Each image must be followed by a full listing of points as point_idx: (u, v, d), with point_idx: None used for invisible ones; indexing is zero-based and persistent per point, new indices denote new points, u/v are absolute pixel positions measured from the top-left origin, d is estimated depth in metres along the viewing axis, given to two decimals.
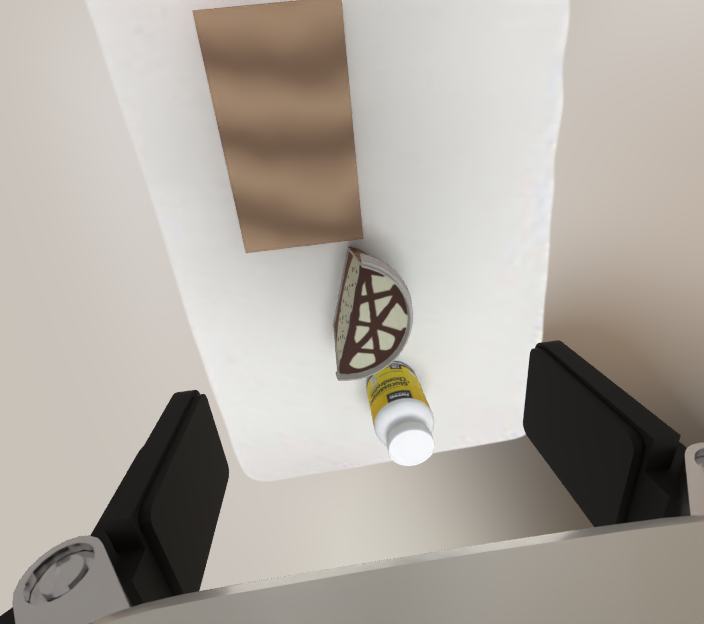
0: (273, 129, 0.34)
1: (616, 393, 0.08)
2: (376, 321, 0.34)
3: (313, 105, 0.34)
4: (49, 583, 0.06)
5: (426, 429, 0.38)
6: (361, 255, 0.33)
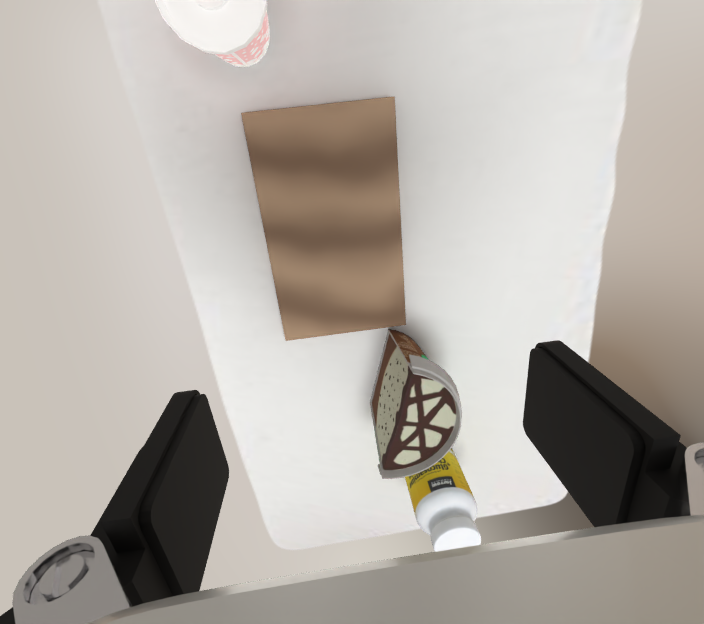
0: (319, 224, 0.33)
1: (616, 393, 0.08)
2: (423, 420, 0.33)
3: (361, 200, 0.33)
4: (49, 583, 0.06)
5: (473, 525, 0.36)
6: (410, 357, 0.32)
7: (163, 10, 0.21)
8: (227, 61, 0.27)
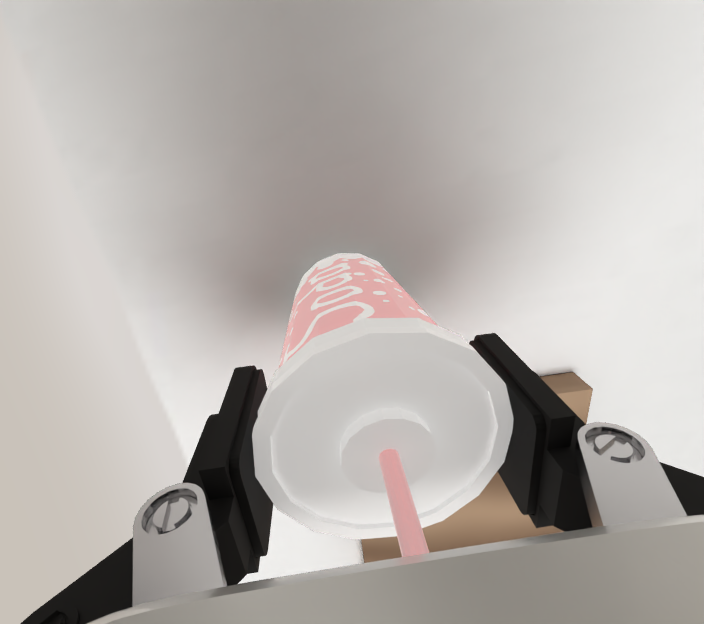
0: (446, 538, 0.22)
1: (531, 379, 0.09)
2: None
3: (514, 509, 0.21)
4: (161, 520, 0.07)
5: None
6: None
7: (278, 496, 0.09)
8: None
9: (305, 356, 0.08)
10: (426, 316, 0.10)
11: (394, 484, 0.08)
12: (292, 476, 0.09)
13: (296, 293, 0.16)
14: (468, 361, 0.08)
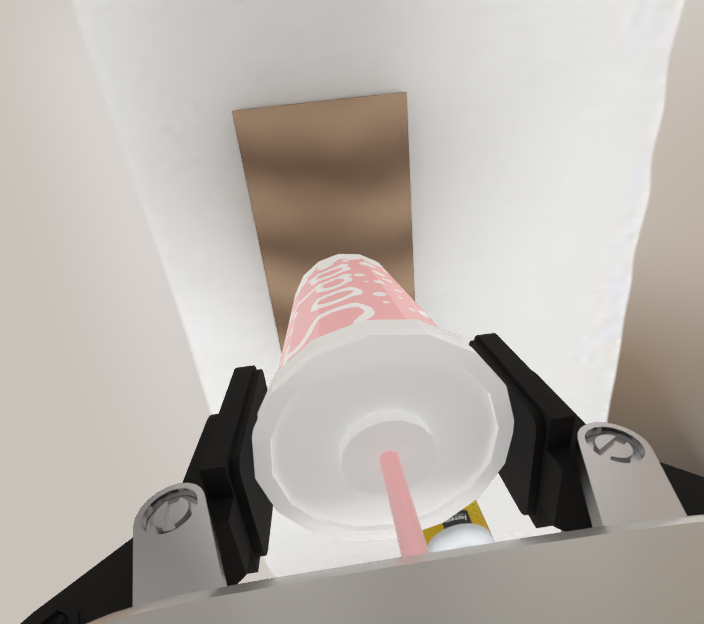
0: (320, 235, 0.30)
1: (531, 379, 0.09)
2: None
3: (368, 209, 0.29)
4: (161, 519, 0.07)
5: None
6: None
7: (278, 498, 0.09)
8: None
9: (305, 358, 0.08)
10: (426, 317, 0.10)
11: (394, 486, 0.08)
12: (293, 477, 0.09)
13: (296, 294, 0.16)
14: (468, 363, 0.08)
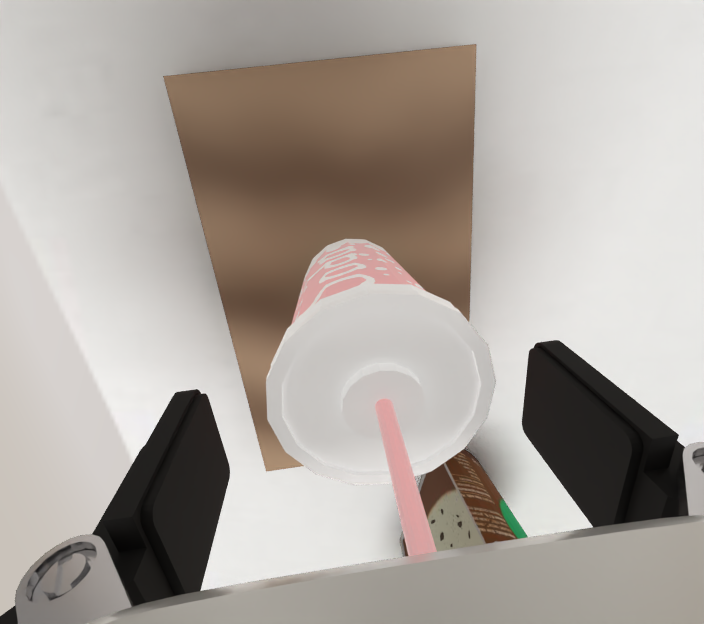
0: None
1: (615, 393, 0.08)
2: None
3: (401, 245, 0.18)
4: (51, 581, 0.06)
5: None
6: None
7: (287, 439, 0.10)
8: None
9: (313, 313, 0.09)
10: (422, 289, 0.11)
11: (387, 424, 0.09)
12: (299, 422, 0.10)
13: (306, 274, 0.17)
14: (454, 322, 0.09)
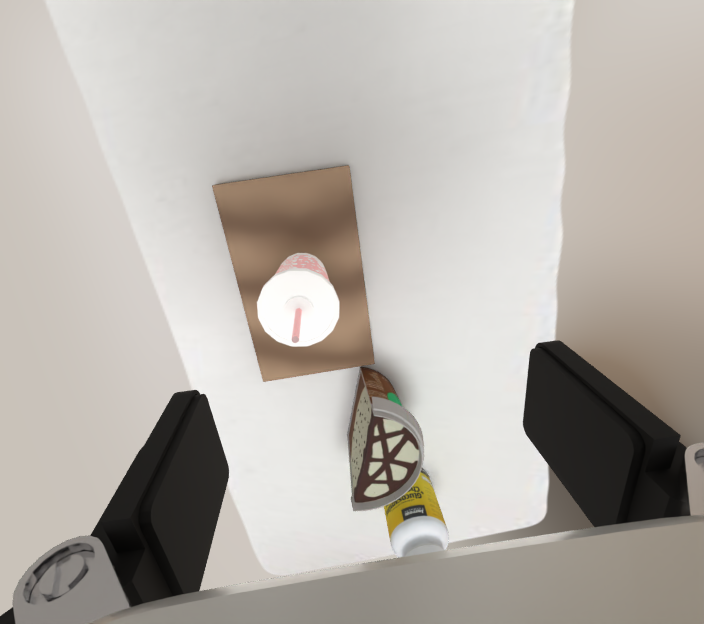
0: None
1: (616, 393, 0.08)
2: (388, 456, 0.36)
3: (325, 255, 0.36)
4: (49, 583, 0.06)
5: None
6: (373, 399, 0.34)
7: (265, 326, 0.28)
8: None
9: (272, 278, 0.27)
10: (317, 271, 0.30)
11: (296, 313, 0.27)
12: (269, 319, 0.28)
13: None
14: (320, 280, 0.27)
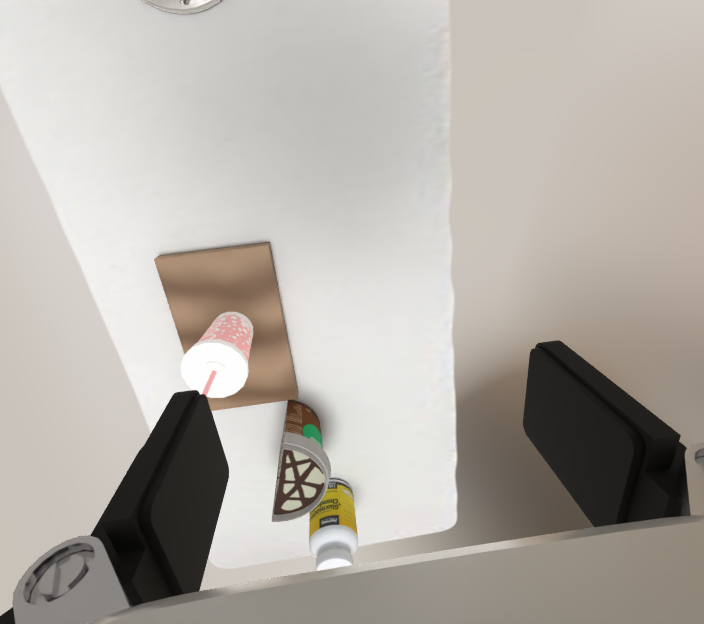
0: None
1: (616, 393, 0.08)
2: (299, 479, 0.44)
3: (251, 313, 0.43)
4: (49, 583, 0.06)
5: (346, 556, 0.47)
6: (285, 434, 0.42)
7: (188, 382, 0.36)
8: None
9: (192, 347, 0.35)
10: (233, 338, 0.37)
11: (210, 376, 0.35)
12: (191, 377, 0.36)
13: None
14: (230, 349, 0.35)
